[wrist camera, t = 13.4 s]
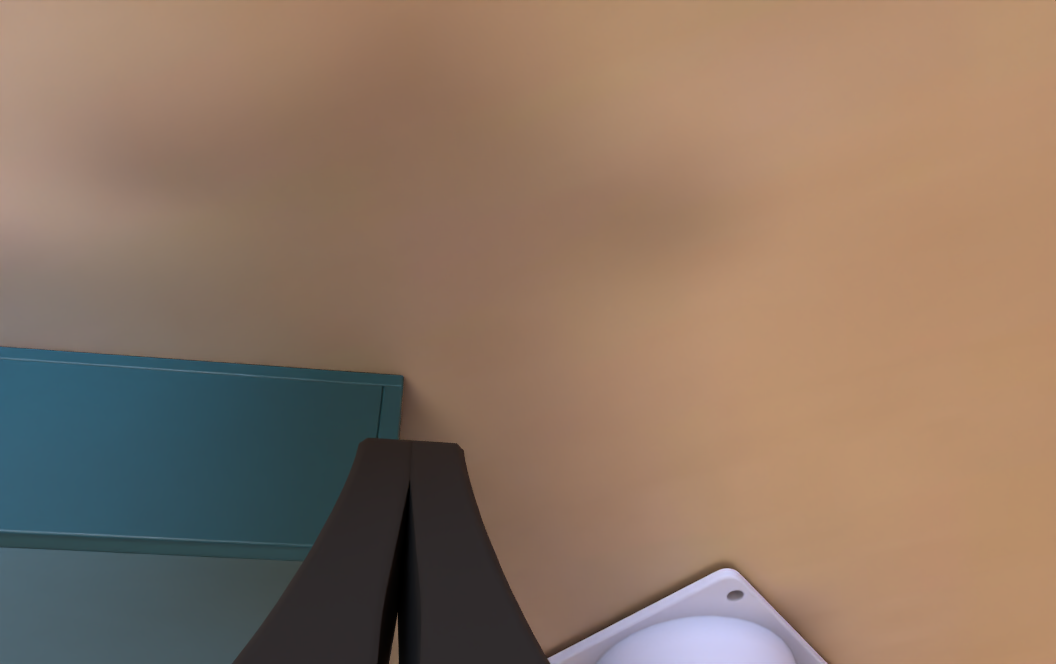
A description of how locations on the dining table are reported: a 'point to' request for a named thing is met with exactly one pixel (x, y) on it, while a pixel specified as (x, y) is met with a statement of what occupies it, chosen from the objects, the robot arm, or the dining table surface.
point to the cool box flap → (132, 606)
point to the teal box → (179, 452)
